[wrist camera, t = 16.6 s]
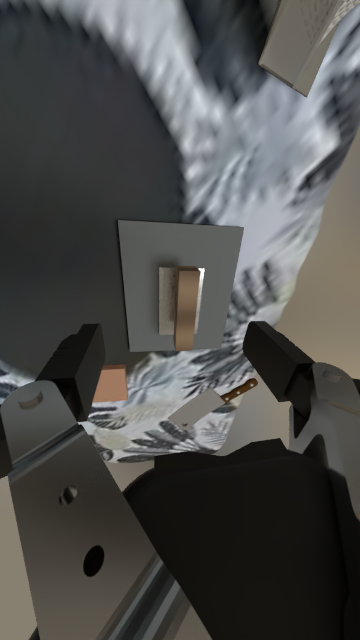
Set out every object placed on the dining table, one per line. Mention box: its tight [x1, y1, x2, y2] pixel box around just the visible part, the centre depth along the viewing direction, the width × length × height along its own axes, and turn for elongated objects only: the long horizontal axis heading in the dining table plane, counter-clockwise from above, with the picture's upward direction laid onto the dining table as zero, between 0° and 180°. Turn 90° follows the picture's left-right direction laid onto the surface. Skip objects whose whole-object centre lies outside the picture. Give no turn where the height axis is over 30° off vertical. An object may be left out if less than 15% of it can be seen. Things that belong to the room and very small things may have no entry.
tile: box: [92, 364, 128, 403], centre depth 38 cm, size 9×2×9 cm
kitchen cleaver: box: [168, 378, 258, 430], centre depth 46 cm, size 24×1×10 cm
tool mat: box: [118, 220, 244, 352], centre depth 31 cm, size 18×22×1 cm
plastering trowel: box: [159, 266, 204, 351], centre depth 28 cm, size 13×7×7 cm, turn 177°
